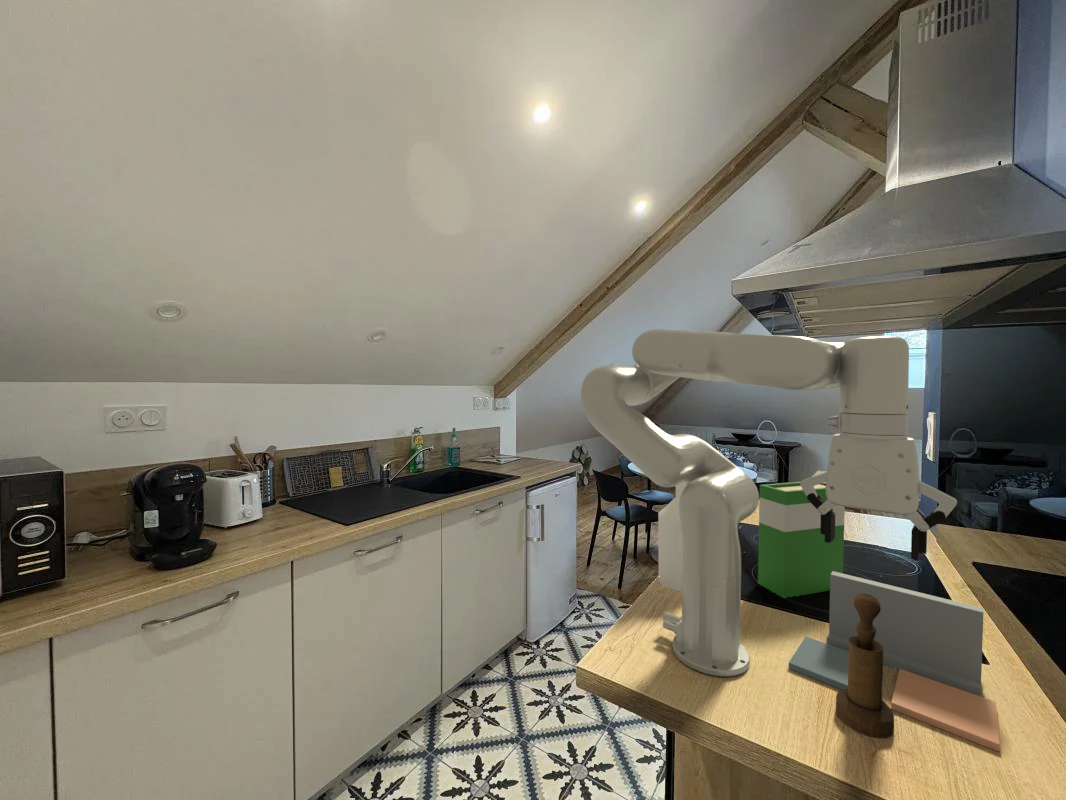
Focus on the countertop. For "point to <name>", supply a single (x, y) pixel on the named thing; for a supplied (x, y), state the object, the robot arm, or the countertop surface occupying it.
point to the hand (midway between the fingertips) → (870, 548)
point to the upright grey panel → (913, 630)
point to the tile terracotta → (947, 708)
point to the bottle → (671, 544)
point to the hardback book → (796, 541)
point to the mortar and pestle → (865, 677)
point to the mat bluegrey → (822, 662)
